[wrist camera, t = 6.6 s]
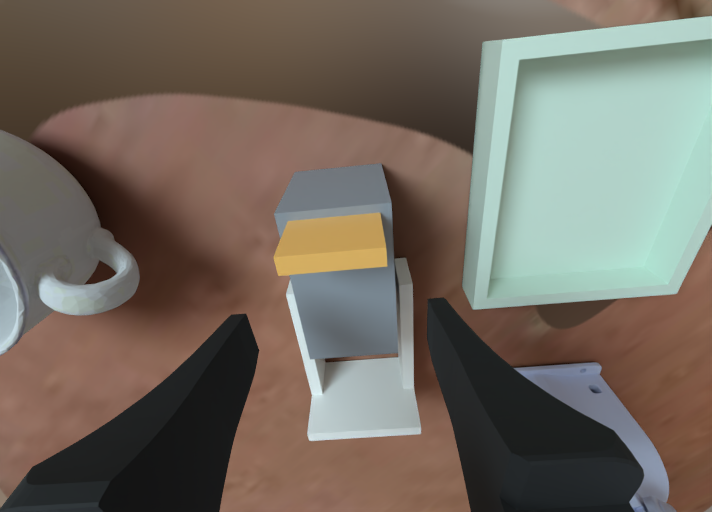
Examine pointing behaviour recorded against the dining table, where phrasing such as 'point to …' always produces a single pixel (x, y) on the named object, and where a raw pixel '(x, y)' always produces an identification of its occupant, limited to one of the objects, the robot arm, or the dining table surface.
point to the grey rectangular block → (340, 259)
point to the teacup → (51, 245)
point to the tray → (590, 164)
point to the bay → (365, 381)
